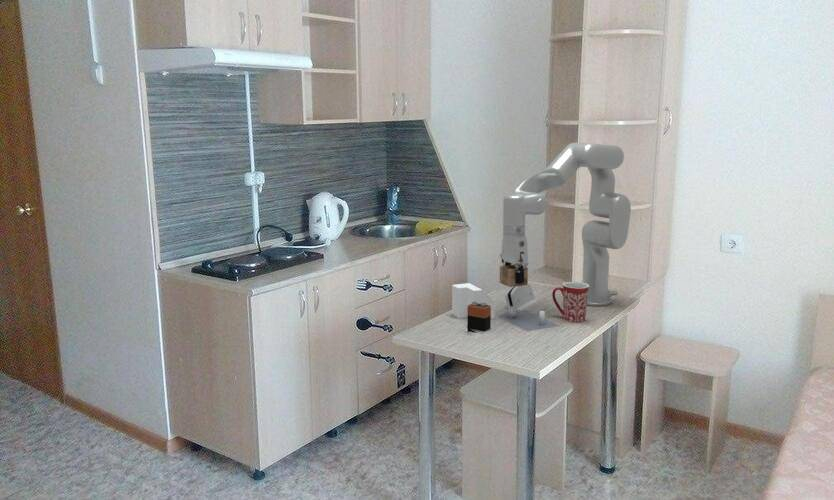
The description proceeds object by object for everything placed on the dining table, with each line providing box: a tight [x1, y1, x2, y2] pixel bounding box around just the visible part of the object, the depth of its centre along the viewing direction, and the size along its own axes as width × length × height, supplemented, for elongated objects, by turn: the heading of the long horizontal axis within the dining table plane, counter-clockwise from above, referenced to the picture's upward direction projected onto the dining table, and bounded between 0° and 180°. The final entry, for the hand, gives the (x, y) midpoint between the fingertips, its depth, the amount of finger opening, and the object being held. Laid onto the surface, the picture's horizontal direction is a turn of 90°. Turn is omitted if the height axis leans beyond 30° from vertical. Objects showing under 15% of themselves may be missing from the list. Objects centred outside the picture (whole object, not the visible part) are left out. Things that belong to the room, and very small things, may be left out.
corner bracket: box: [451, 282, 495, 320], centre depth 239 cm, size 11×11×12 cm
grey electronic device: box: [504, 284, 540, 312], centre depth 253 cm, size 17×5×10 cm, turn 146°
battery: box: [466, 302, 492, 334], centre depth 225 cm, size 4×7×10 cm, turn 56°
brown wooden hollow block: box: [499, 264, 529, 288], centre depth 235 cm, size 7×7×6 cm
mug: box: [552, 281, 589, 323], centre depth 235 cm, size 13×9×14 cm
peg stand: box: [495, 306, 560, 332], centre depth 233 cm, size 13×20×6 cm, turn 25°
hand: (513, 280), depth 236 cm, fingers closed on brown wooden hollow block, 7 cm apart
